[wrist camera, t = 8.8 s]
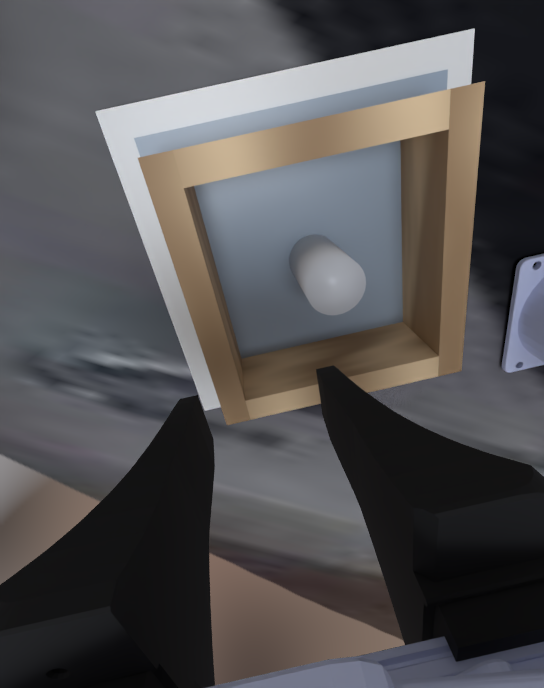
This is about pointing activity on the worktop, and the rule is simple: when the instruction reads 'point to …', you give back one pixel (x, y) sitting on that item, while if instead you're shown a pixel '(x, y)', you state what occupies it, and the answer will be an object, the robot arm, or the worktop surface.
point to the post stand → (289, 198)
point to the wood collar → (417, 248)
